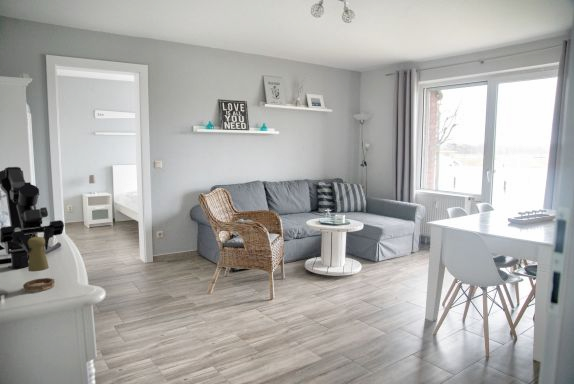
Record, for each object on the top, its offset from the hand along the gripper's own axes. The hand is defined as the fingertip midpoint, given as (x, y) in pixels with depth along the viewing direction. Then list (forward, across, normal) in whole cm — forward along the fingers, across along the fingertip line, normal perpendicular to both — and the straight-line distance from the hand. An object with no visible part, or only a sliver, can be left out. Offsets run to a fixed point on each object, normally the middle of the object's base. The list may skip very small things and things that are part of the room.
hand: (37, 250), depth 137 cm
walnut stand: (+9, 0, +10) cm, 13 cm away
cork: (+4, 0, +6) cm, 7 cm away
